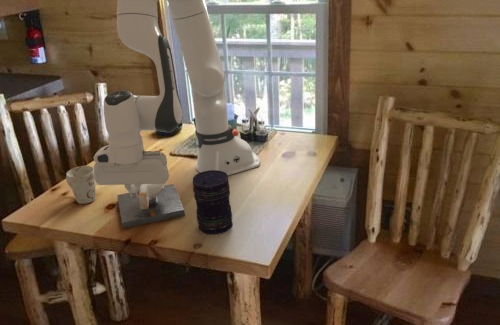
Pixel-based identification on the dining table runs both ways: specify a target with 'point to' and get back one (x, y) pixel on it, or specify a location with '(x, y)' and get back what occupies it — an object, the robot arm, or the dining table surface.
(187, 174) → the dining table surface
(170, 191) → the plate
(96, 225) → the dining table surface
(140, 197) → the white handled oval piece
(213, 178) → the dark blue ribbed cylinder
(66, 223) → the dining table surface
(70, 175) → the mug
